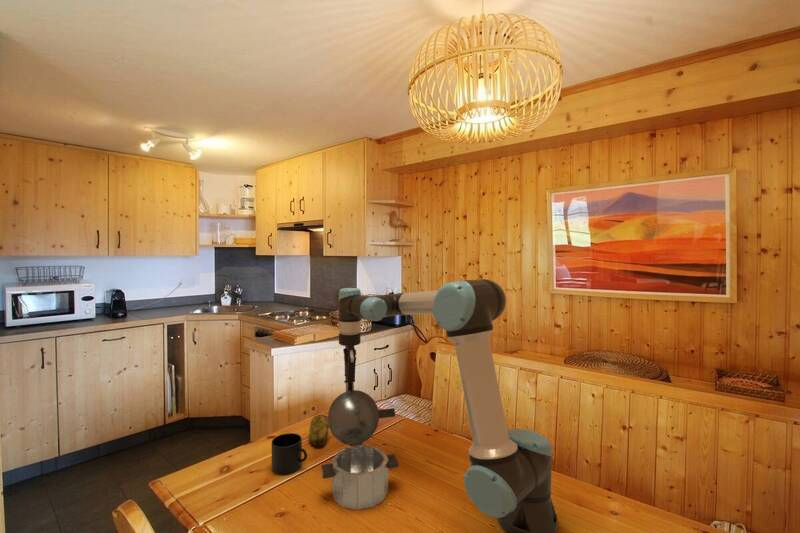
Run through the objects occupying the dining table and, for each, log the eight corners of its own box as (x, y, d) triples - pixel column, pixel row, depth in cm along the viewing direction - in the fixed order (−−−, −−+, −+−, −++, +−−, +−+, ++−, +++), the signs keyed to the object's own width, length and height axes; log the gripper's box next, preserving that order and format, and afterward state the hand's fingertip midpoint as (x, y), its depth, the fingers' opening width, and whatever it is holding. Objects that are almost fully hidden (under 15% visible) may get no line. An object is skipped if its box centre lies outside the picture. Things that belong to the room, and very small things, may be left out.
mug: (299, 478, 117) (299, 450, 117) (265, 472, 120) (265, 444, 120) (313, 462, 126) (313, 435, 126) (282, 457, 129) (282, 431, 129)
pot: (403, 501, 106) (403, 469, 106) (324, 515, 101) (324, 481, 100) (388, 467, 123) (388, 439, 123) (320, 478, 117) (320, 448, 117)
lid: (392, 386, 130) (390, 387, 132) (326, 392, 124) (326, 394, 126) (398, 439, 122) (397, 440, 125) (329, 449, 116) (328, 449, 119)
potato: (301, 448, 135) (301, 426, 135) (314, 431, 148) (314, 411, 148) (323, 449, 134) (323, 427, 134) (334, 432, 147) (334, 412, 147)
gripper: (336, 329, 136) (336, 393, 137) (341, 337, 124) (341, 408, 124) (357, 328, 138) (357, 391, 139) (363, 336, 126) (363, 405, 126)
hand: (349, 399), depth 132 cm, fingers closed
